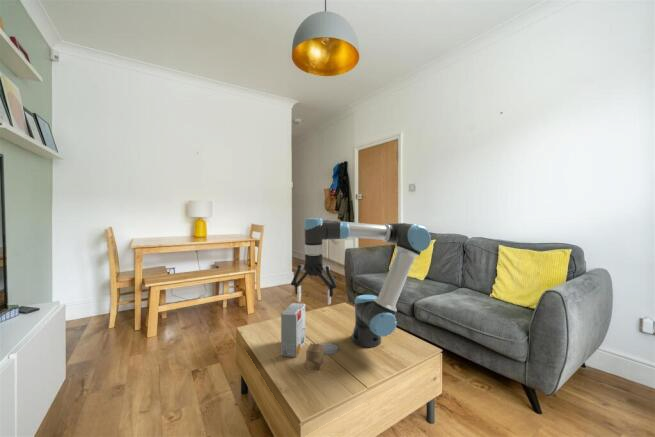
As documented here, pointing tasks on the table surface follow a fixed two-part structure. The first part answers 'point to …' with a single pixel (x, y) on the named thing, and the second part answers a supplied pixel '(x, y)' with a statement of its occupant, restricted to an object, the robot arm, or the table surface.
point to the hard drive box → (292, 329)
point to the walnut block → (314, 356)
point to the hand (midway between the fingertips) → (314, 302)
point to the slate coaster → (329, 348)
